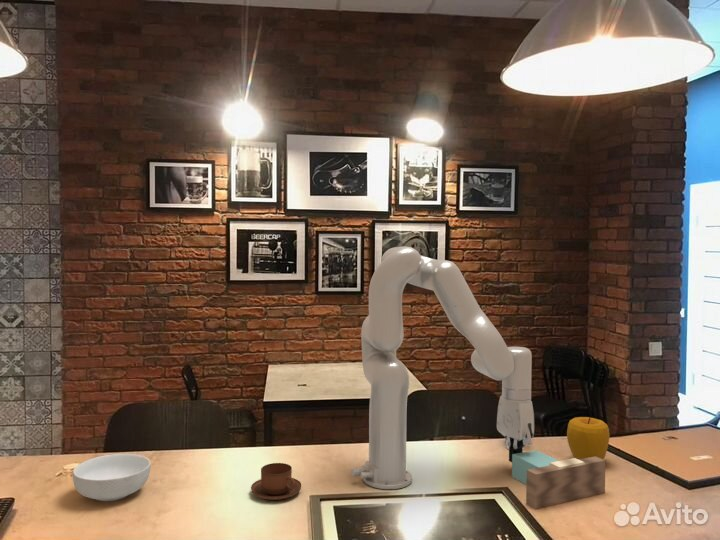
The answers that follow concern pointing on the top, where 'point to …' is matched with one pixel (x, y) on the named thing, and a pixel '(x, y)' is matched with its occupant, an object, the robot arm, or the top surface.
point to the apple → (588, 437)
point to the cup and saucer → (276, 482)
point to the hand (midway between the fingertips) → (515, 461)
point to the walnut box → (565, 481)
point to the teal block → (528, 463)
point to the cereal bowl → (111, 476)
